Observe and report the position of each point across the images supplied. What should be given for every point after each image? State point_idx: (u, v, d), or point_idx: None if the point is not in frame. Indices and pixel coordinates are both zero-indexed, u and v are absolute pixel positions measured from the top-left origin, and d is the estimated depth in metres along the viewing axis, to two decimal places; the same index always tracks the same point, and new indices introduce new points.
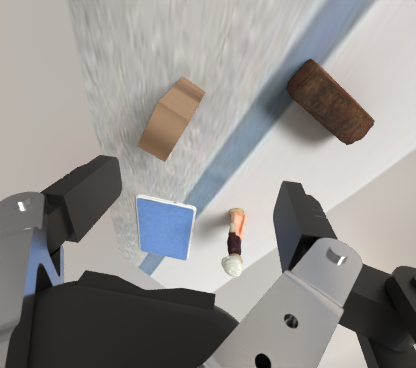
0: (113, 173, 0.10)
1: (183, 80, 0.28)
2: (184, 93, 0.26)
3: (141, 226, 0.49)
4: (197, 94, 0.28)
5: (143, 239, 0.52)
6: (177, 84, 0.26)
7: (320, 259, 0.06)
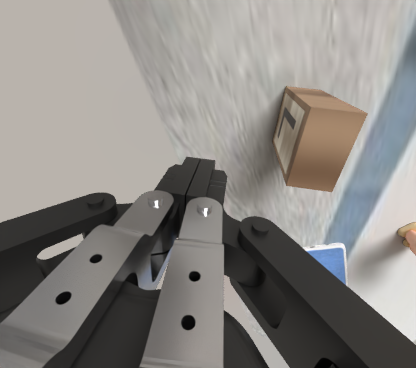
0: None
1: (292, 88, 0.22)
2: (311, 95, 0.19)
3: None
4: (320, 93, 0.20)
5: None
6: (294, 91, 0.20)
7: (195, 217, 0.07)
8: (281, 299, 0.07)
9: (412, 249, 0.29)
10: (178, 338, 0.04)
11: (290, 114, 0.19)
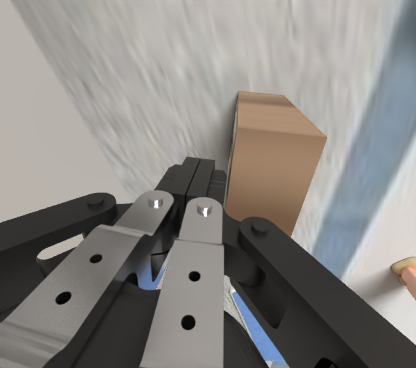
0: None
1: (244, 94, 0.16)
2: (262, 104, 0.13)
3: (251, 328, 0.33)
4: (278, 100, 0.15)
5: (260, 345, 0.35)
6: (241, 99, 0.14)
7: (195, 218, 0.07)
8: (281, 299, 0.07)
9: (410, 290, 0.23)
10: (178, 338, 0.04)
11: (233, 131, 0.14)
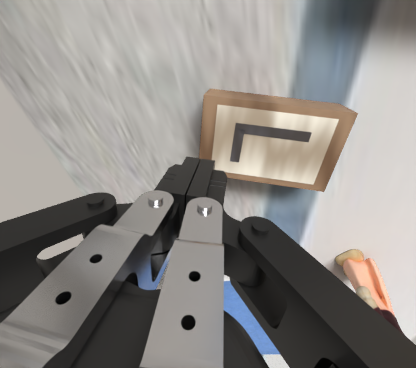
0: None
1: (221, 96, 0.15)
2: (269, 99, 0.16)
3: None
4: (240, 93, 0.17)
5: None
6: (255, 100, 0.15)
7: (195, 218, 0.07)
8: (281, 299, 0.07)
9: None
10: (178, 338, 0.04)
11: (278, 128, 0.15)
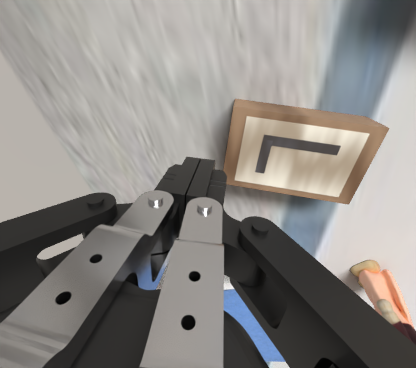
0: None
1: (250, 107, 0.15)
2: (298, 111, 0.16)
3: None
4: (266, 103, 0.17)
5: None
6: (285, 113, 0.15)
7: (195, 218, 0.07)
8: (281, 299, 0.07)
9: (367, 292, 0.24)
10: (178, 338, 0.04)
11: (307, 141, 0.15)
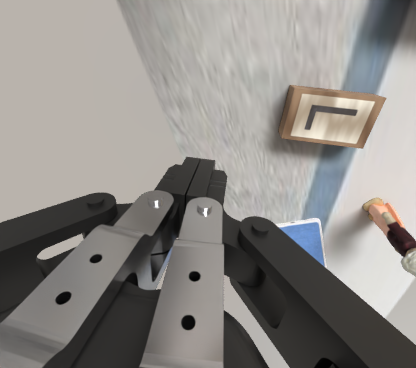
0: None
1: (304, 88, 0.26)
2: (331, 90, 0.26)
3: None
4: (310, 87, 0.28)
5: None
6: (325, 91, 0.25)
7: (195, 217, 0.07)
8: (281, 299, 0.07)
9: (374, 221, 0.34)
10: (178, 338, 0.04)
11: (338, 107, 0.26)
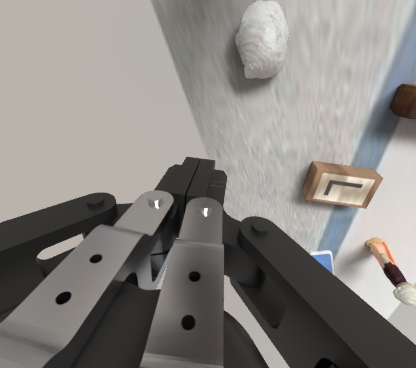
0: None
1: (324, 169, 0.36)
2: (343, 169, 0.36)
3: None
4: (327, 164, 0.38)
5: None
6: (339, 171, 0.35)
7: (195, 217, 0.07)
8: (281, 299, 0.07)
9: (374, 255, 0.44)
10: (178, 338, 0.04)
11: (348, 182, 0.36)
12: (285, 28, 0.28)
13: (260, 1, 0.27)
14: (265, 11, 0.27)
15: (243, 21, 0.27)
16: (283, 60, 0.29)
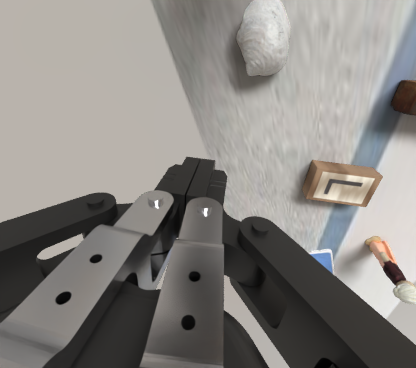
0: None
1: (324, 167, 0.36)
2: (343, 167, 0.36)
3: None
4: (327, 162, 0.38)
5: None
6: (339, 170, 0.35)
7: (195, 217, 0.07)
8: (281, 299, 0.07)
9: (374, 253, 0.44)
10: (178, 338, 0.04)
11: (348, 181, 0.36)
12: (287, 24, 0.28)
13: None
14: (267, 7, 0.27)
15: (245, 18, 0.27)
16: (285, 57, 0.29)
